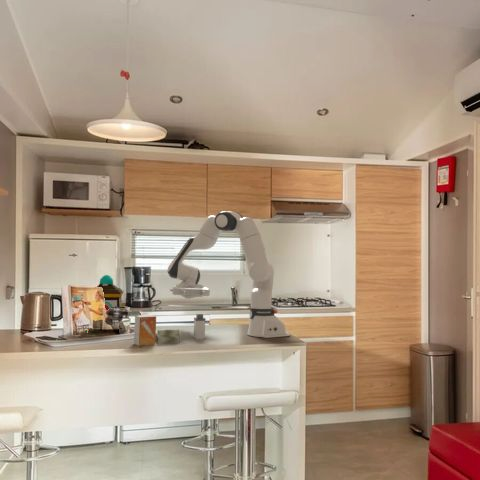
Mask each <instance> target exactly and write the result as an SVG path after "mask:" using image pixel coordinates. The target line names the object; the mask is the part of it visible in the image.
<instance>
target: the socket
mask: <svg viewBox="0 0 480 480" xmlns="http://www.w3.org/2000/svg"><path fill="white" fill-rule="evenodd" d="M155 343H156V344H176V343H177V344H178V343H180V329H179V328H178V329H175V328H174V329H157V332H156V337H155Z"/></svg>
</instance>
